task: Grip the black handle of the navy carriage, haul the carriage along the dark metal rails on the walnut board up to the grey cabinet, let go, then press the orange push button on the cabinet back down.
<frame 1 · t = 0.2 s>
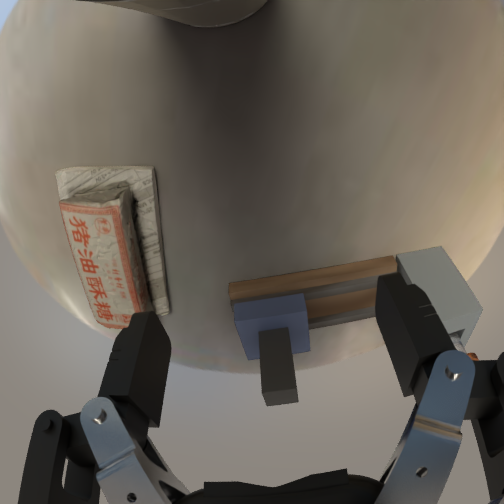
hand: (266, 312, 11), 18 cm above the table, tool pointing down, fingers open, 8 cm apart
carriage: (276, 356, 30), point 7 cm above the table, slide at 0.0 cm
packaged product: (119, 243, 31), on the table
end cabinet: (414, 276, 35), on the table
rail bed: (315, 295, 36), on the table
orange push button: (452, 349, 26), point 11 cm above the table, slide at 0.0 cm
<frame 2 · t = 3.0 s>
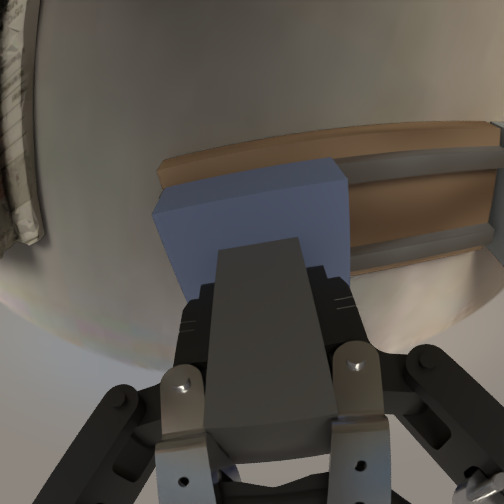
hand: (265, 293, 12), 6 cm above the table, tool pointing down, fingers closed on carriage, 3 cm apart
carriage: (267, 316, 11), point 7 cm above the table, slide at 0.0 cm, touching gripper
rail bed: (350, 199, 16), on the table
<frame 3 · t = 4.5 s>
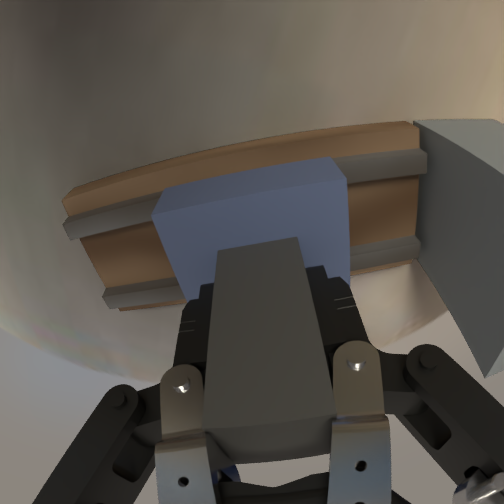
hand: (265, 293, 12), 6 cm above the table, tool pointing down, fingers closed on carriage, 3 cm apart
carriage: (267, 316, 11), point 7 cm above the table, slide at 5.7 cm, touching gripper
end cabinet: (454, 184, 16), on the table
rail bed: (246, 216, 17), on the table
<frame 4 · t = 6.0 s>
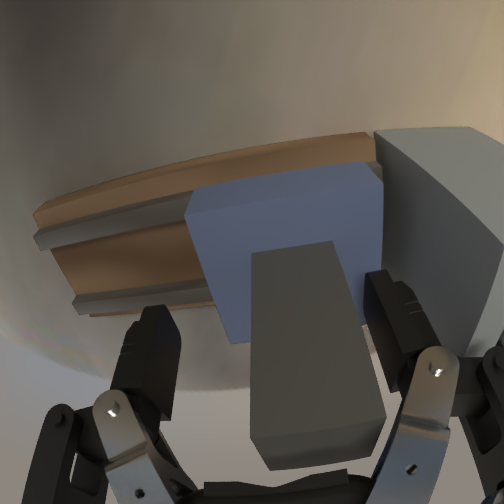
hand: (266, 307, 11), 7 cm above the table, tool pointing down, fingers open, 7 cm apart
carriage: (303, 320, 11), point 7 cm above the table, slide at 9.5 cm
end cabinet: (424, 197, 16), on the table
rail bed: (201, 231, 17), on the table
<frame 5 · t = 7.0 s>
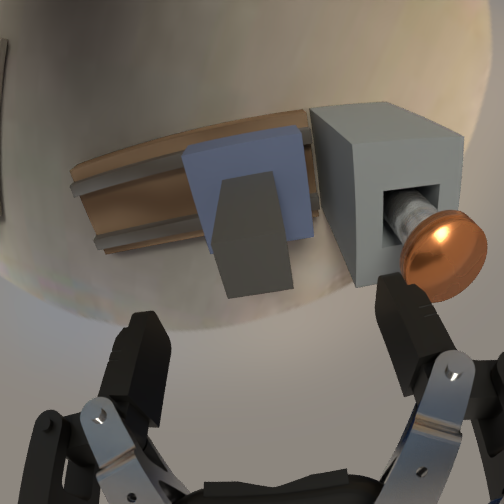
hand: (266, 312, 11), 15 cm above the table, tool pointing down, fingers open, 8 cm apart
carriage: (252, 215, 17), point 7 cm above the table, slide at 9.5 cm
end cabinet: (354, 154, 23), on the table
rail bed: (192, 182, 24), on the table
orange push button: (420, 227, 14), point 11 cm above the table, slide at -0.1 cm
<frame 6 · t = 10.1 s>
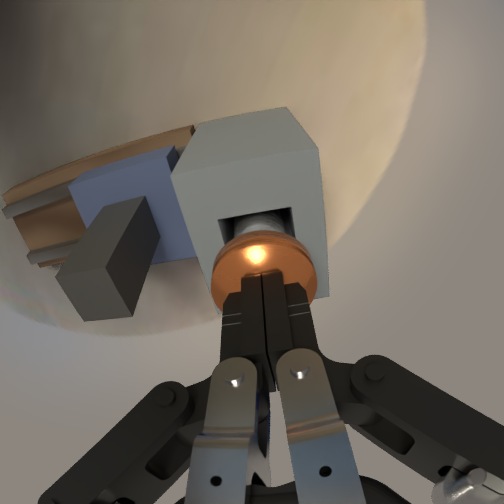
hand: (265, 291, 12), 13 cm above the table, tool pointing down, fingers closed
carriage: (120, 241, 17), point 7 cm above the table, slide at 9.5 cm
end cabinet: (253, 166, 23), on the table
rail bed: (101, 201, 24), on the table
orange push button: (260, 245, 14), point 10 cm above the table, slide at 0.9 cm, touching gripper
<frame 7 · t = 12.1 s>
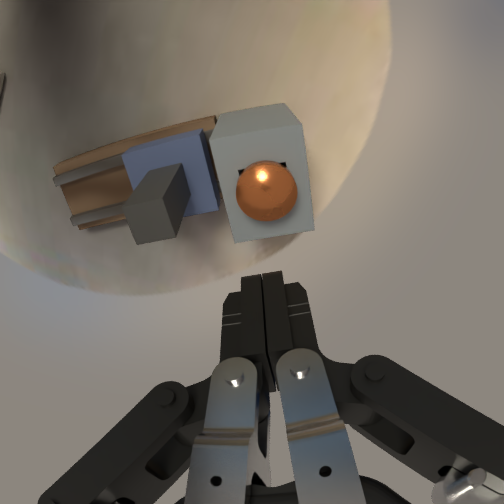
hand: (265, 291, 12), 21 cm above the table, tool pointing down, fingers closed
carriage: (163, 193, 24), point 7 cm above the table, slide at 9.5 cm
end cabinet: (259, 147, 30), on the table
rail bed: (139, 173, 31), on the table
orange push button: (264, 177, 23), point 8 cm above the table, slide at 2.9 cm
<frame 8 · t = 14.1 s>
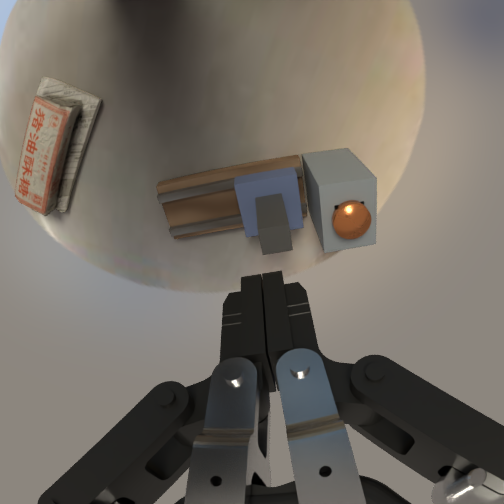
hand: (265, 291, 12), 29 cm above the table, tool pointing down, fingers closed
carriage: (271, 216, 35), point 7 cm above the table, slide at 9.5 cm
packaged product: (56, 144, 36), on the table
end cabinet: (328, 179, 40), on the table
rail bed: (232, 195, 41), on the table
orange push button: (345, 208, 33), point 8 cm above the table, slide at 2.9 cm
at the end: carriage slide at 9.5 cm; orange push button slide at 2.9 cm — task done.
